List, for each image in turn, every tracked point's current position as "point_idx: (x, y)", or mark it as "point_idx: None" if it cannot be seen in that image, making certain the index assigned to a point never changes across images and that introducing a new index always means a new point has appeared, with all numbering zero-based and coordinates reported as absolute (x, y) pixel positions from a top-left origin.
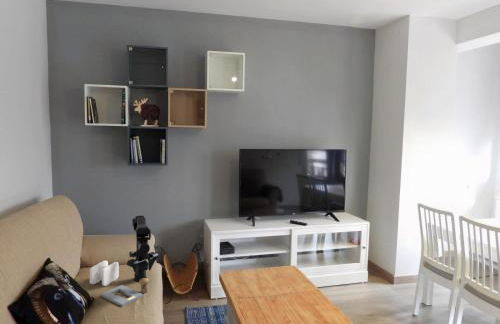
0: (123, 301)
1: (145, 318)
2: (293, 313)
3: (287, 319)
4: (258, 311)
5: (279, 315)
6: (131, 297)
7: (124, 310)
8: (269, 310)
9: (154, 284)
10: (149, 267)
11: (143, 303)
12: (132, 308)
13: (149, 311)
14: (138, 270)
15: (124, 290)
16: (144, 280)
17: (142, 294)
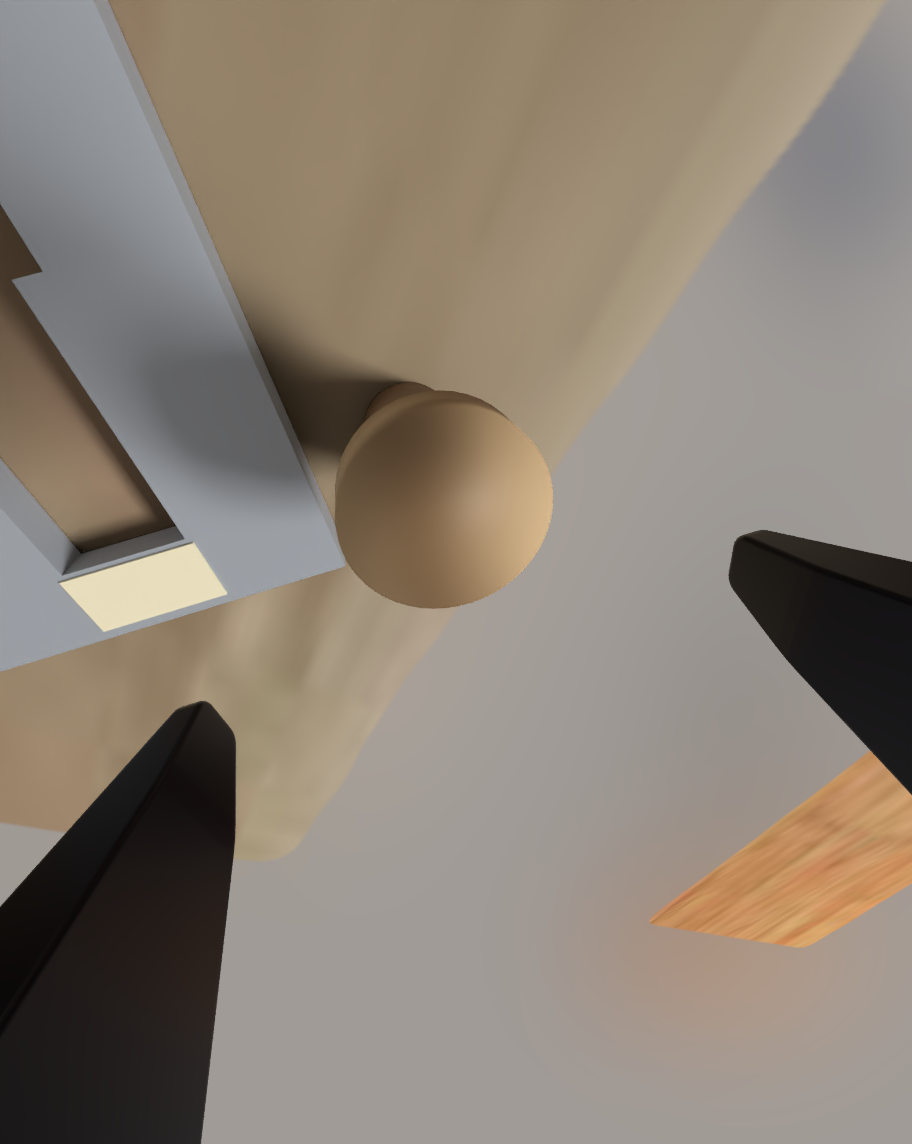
0: (9, 617)
1: (242, 852)
2: (774, 920)
3: (729, 936)
4: (728, 899)
5: (740, 922)
6: (154, 574)
7: (48, 718)
8: (756, 901)
9: (667, 269)
10: (834, 642)
11: (297, 678)
12: (153, 715)
13: (304, 795)
14: (201, 1087)
15: (16, 187)
16: (448, 545)
17: (336, 567)
